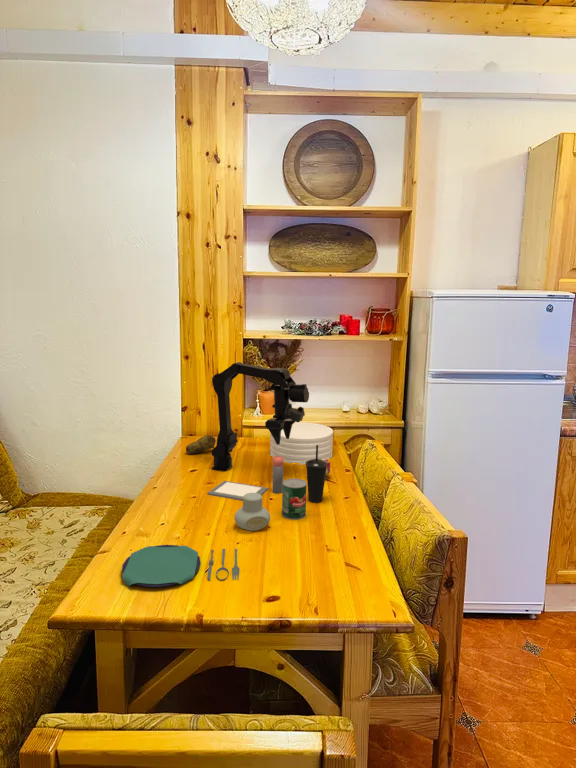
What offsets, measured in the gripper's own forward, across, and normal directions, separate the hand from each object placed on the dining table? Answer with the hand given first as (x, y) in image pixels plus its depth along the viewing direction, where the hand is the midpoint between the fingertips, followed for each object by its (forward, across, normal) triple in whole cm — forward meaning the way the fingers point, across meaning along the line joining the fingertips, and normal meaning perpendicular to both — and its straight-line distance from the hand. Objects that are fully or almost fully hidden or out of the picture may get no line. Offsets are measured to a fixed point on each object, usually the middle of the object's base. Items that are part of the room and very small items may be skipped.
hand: (283, 441), depth 194 cm
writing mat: (+15, -19, +10) cm, 26 cm away
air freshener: (+16, -42, -7) cm, 45 cm away
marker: (+15, -13, -3) cm, 20 cm away
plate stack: (+14, +32, +5) cm, 36 cm away
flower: (+16, +7, -12) cm, 21 cm away
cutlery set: (+17, -71, -1) cm, 73 cm away
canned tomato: (+17, -28, -15) cm, 36 cm away
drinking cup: (+17, -14, -18) cm, 28 cm away
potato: (+12, +13, +46) cm, 50 cm away
